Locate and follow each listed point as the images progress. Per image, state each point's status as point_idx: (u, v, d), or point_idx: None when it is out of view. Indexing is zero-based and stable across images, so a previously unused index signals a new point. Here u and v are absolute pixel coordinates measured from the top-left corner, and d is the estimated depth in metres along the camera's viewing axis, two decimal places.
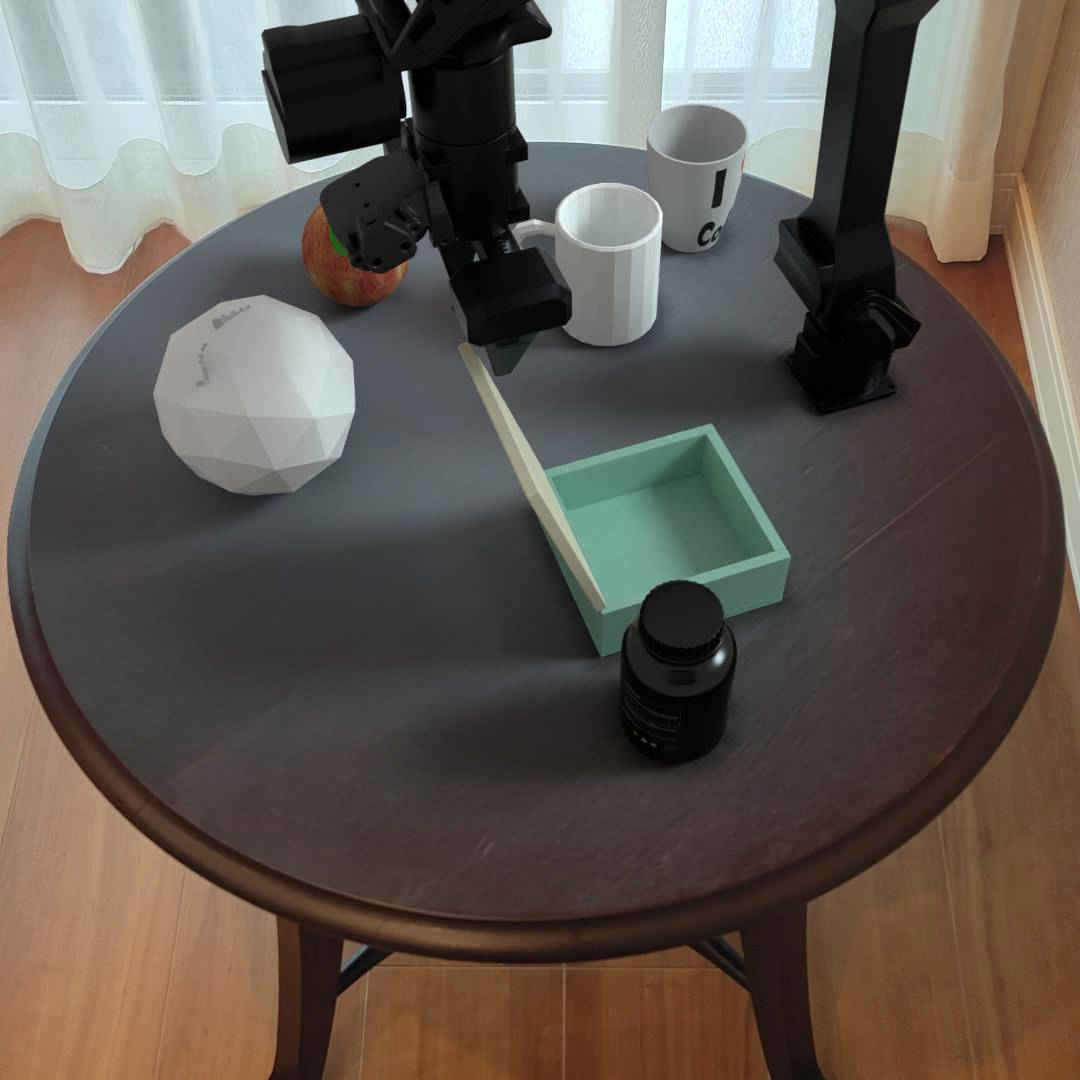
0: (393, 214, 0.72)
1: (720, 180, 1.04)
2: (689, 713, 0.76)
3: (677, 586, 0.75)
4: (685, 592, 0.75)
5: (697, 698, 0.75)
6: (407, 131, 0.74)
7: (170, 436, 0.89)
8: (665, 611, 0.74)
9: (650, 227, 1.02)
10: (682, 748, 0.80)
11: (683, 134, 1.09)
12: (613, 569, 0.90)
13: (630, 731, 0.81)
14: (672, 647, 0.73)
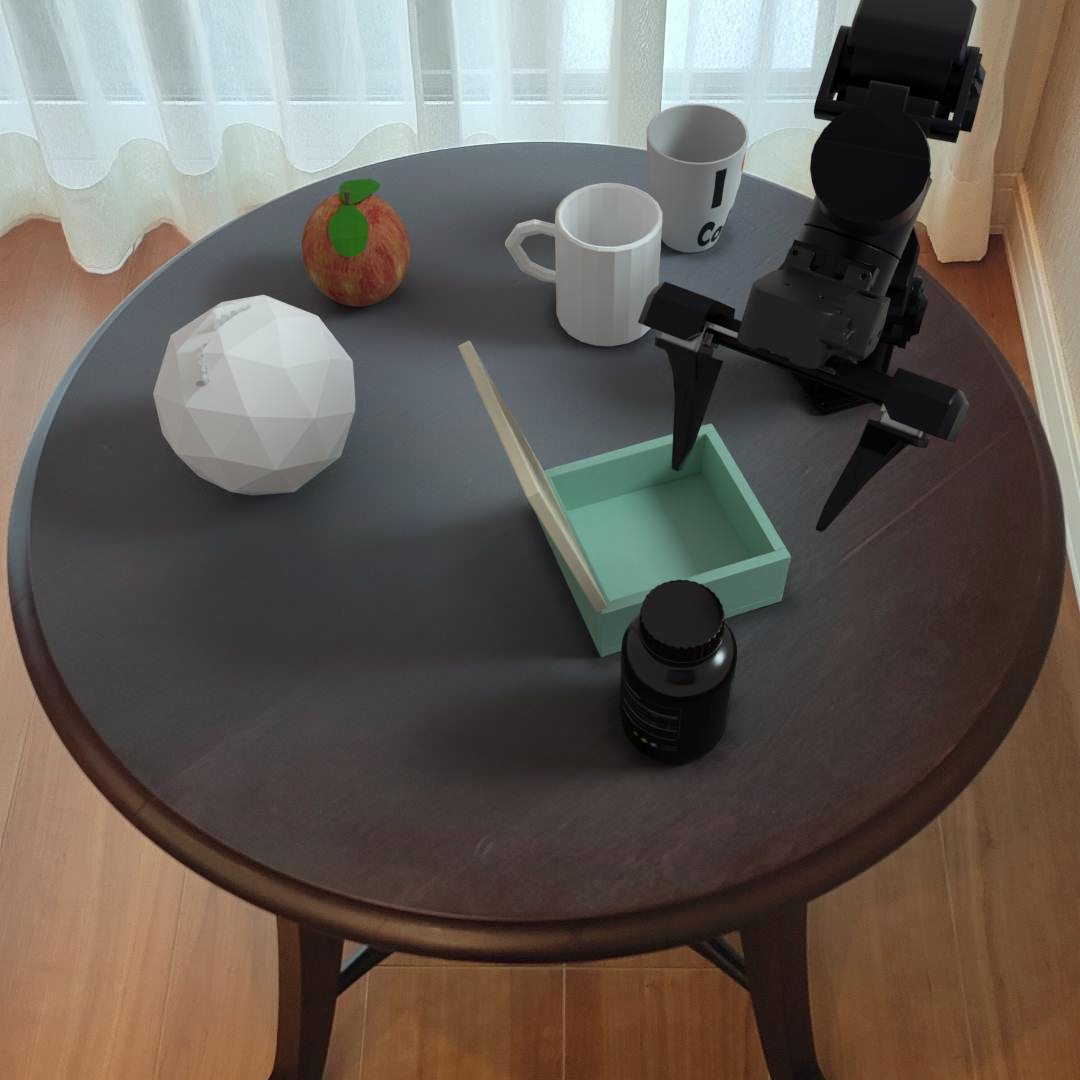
0: None
1: (720, 180, 1.04)
2: (689, 713, 0.76)
3: (677, 586, 0.75)
4: (685, 592, 0.75)
5: (697, 698, 0.75)
6: (805, 248, 0.72)
7: (170, 436, 0.89)
8: (665, 611, 0.74)
9: (650, 227, 1.02)
10: (682, 748, 0.80)
11: (683, 134, 1.09)
12: (613, 569, 0.90)
13: (630, 731, 0.81)
14: (673, 647, 0.73)
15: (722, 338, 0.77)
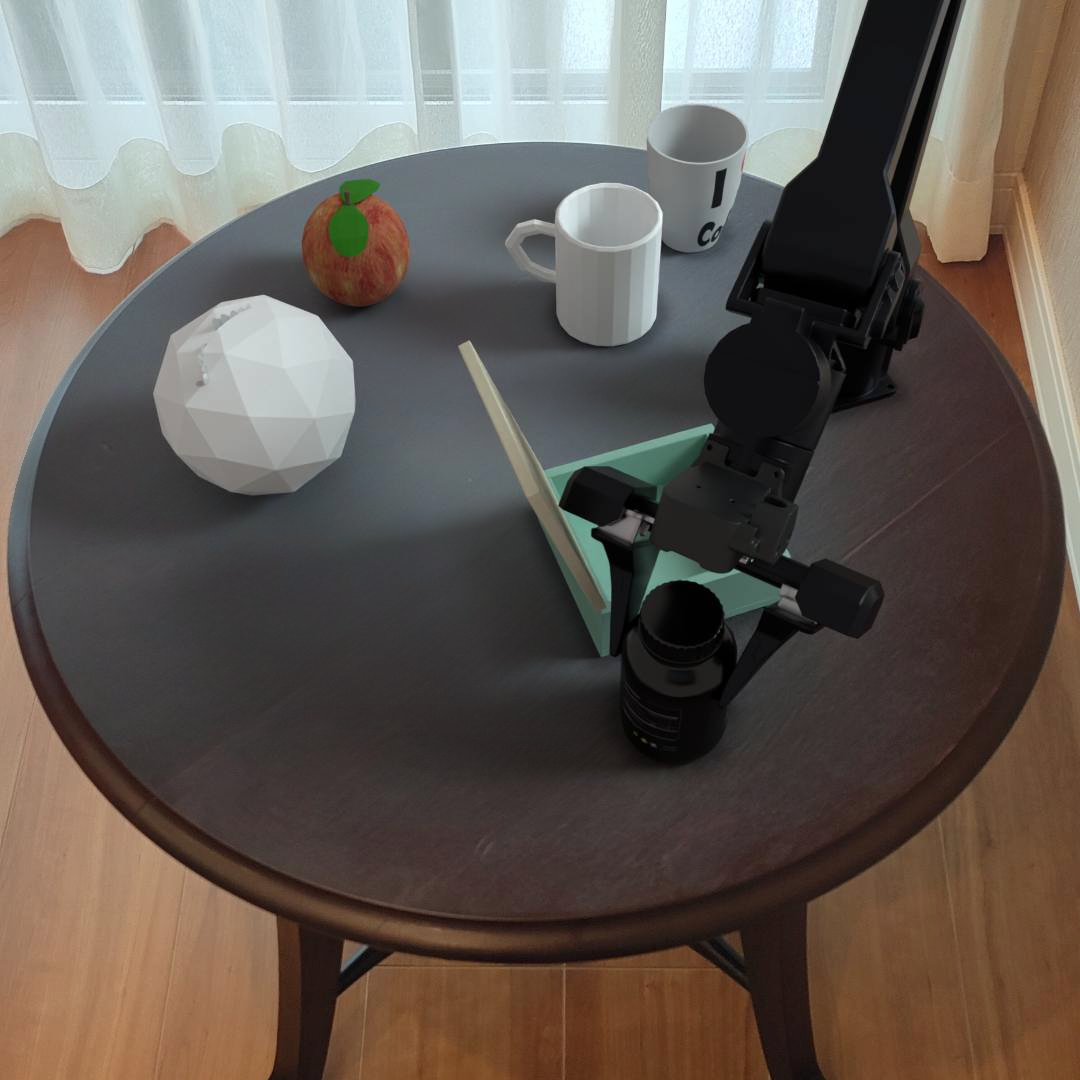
0: None
1: (720, 180, 1.04)
2: (689, 714, 0.76)
3: (677, 586, 0.75)
4: (685, 592, 0.75)
5: (697, 698, 0.75)
6: (720, 443, 0.73)
7: (170, 436, 0.89)
8: (665, 611, 0.74)
9: (650, 227, 1.02)
10: (682, 748, 0.80)
11: (683, 134, 1.09)
12: None
13: (630, 731, 0.81)
14: (673, 648, 0.73)
15: None
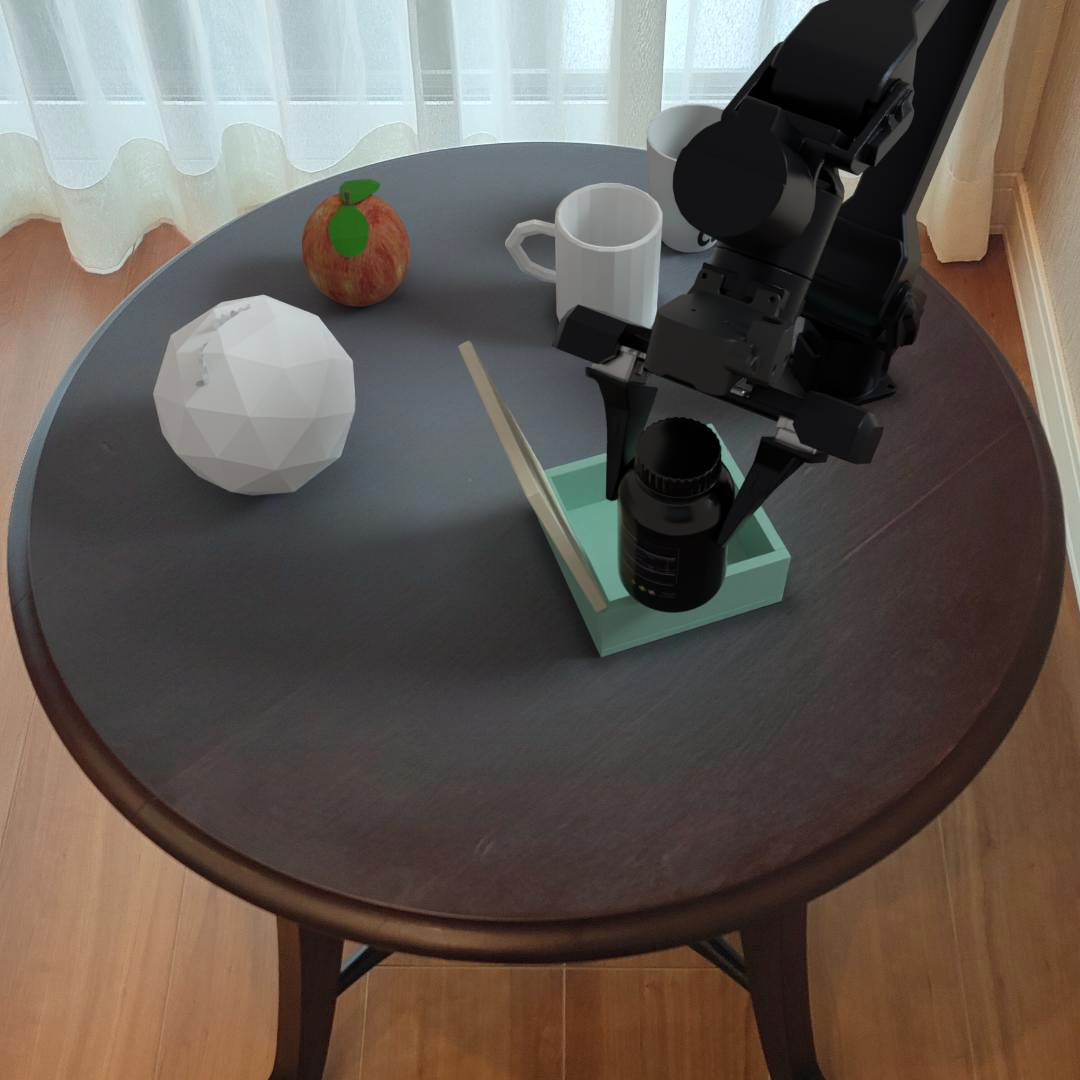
0: None
1: None
2: (687, 554, 0.75)
3: (673, 423, 0.74)
4: (682, 428, 0.74)
5: (695, 536, 0.74)
6: (715, 271, 0.71)
7: (170, 436, 0.89)
8: (661, 446, 0.73)
9: (650, 227, 1.02)
10: (680, 594, 0.79)
11: (683, 134, 1.09)
12: (613, 569, 0.90)
13: (628, 580, 0.80)
14: (669, 481, 0.72)
15: None
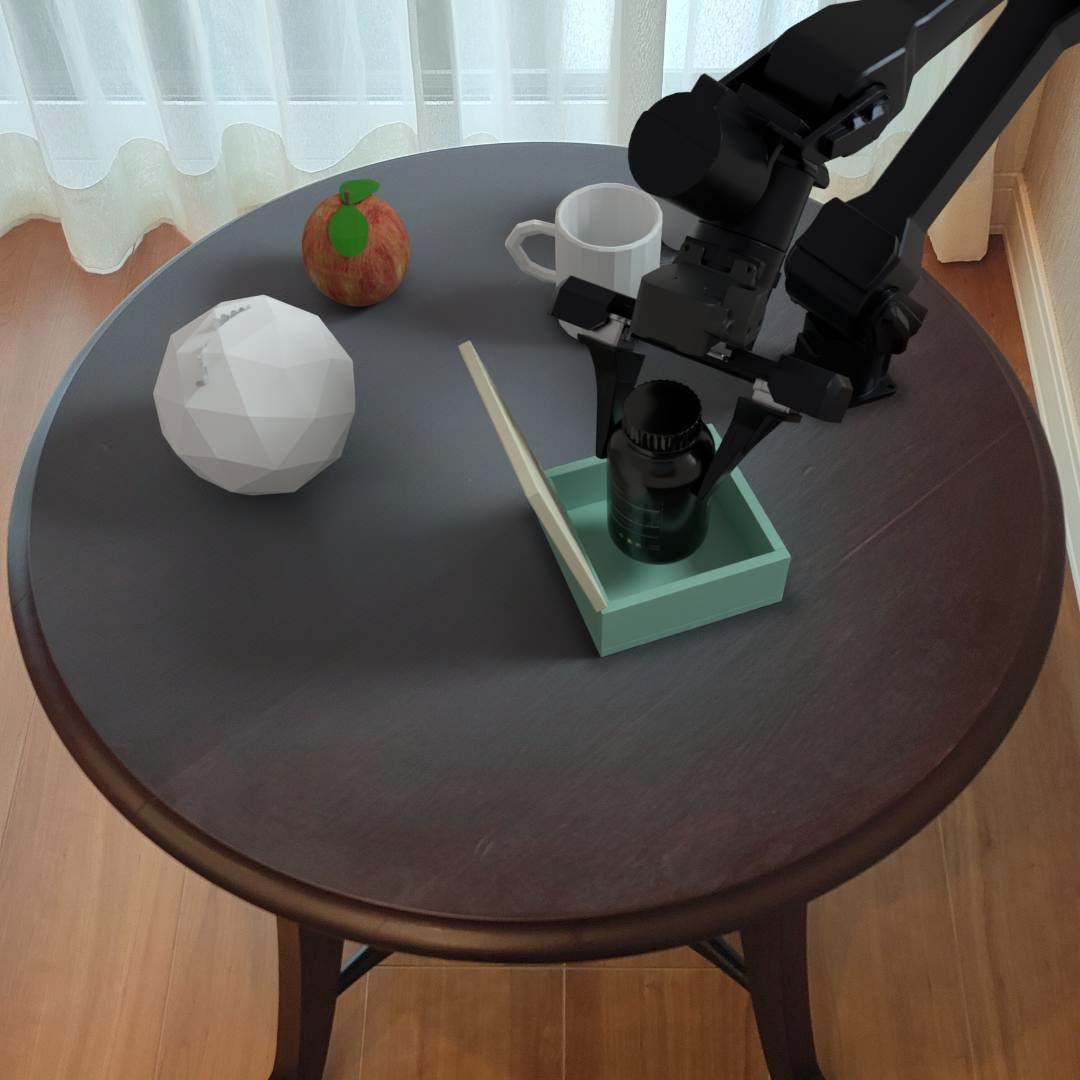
0: None
1: None
2: (671, 507, 0.81)
3: (658, 384, 0.80)
4: (665, 389, 0.80)
5: (677, 489, 0.80)
6: (696, 244, 0.77)
7: (170, 436, 0.89)
8: (646, 406, 0.79)
9: (650, 227, 1.02)
10: (665, 547, 0.84)
11: None
12: (613, 569, 0.90)
13: (616, 534, 0.86)
14: (653, 437, 0.78)
15: None
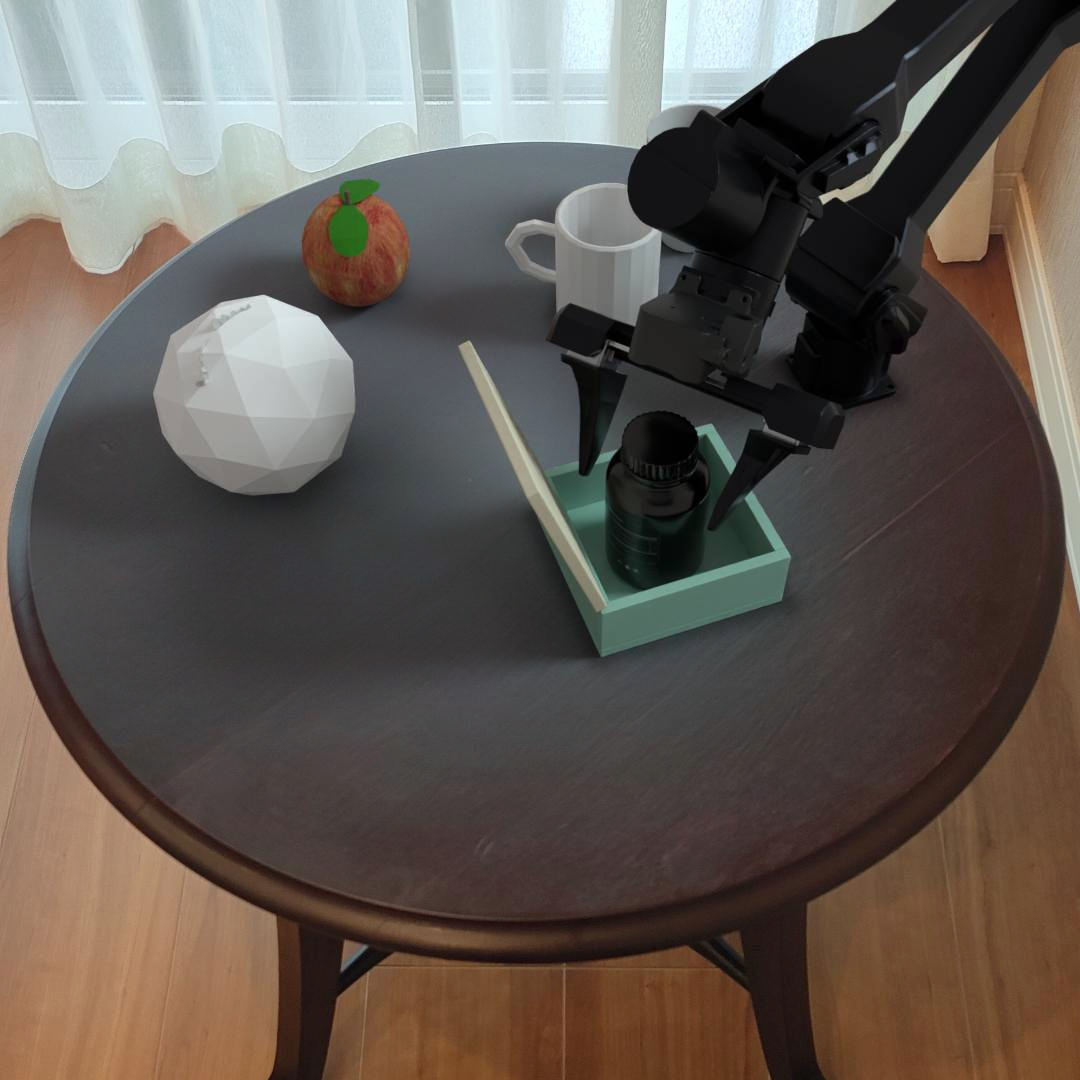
0: None
1: None
2: (668, 534, 0.83)
3: (656, 416, 0.82)
4: (663, 420, 0.82)
5: (674, 517, 0.82)
6: (693, 273, 0.79)
7: (170, 436, 0.89)
8: (645, 436, 0.81)
9: (650, 227, 1.02)
10: (662, 573, 0.87)
11: None
12: None
13: (614, 560, 0.88)
14: (651, 467, 0.80)
15: (623, 354, 0.84)
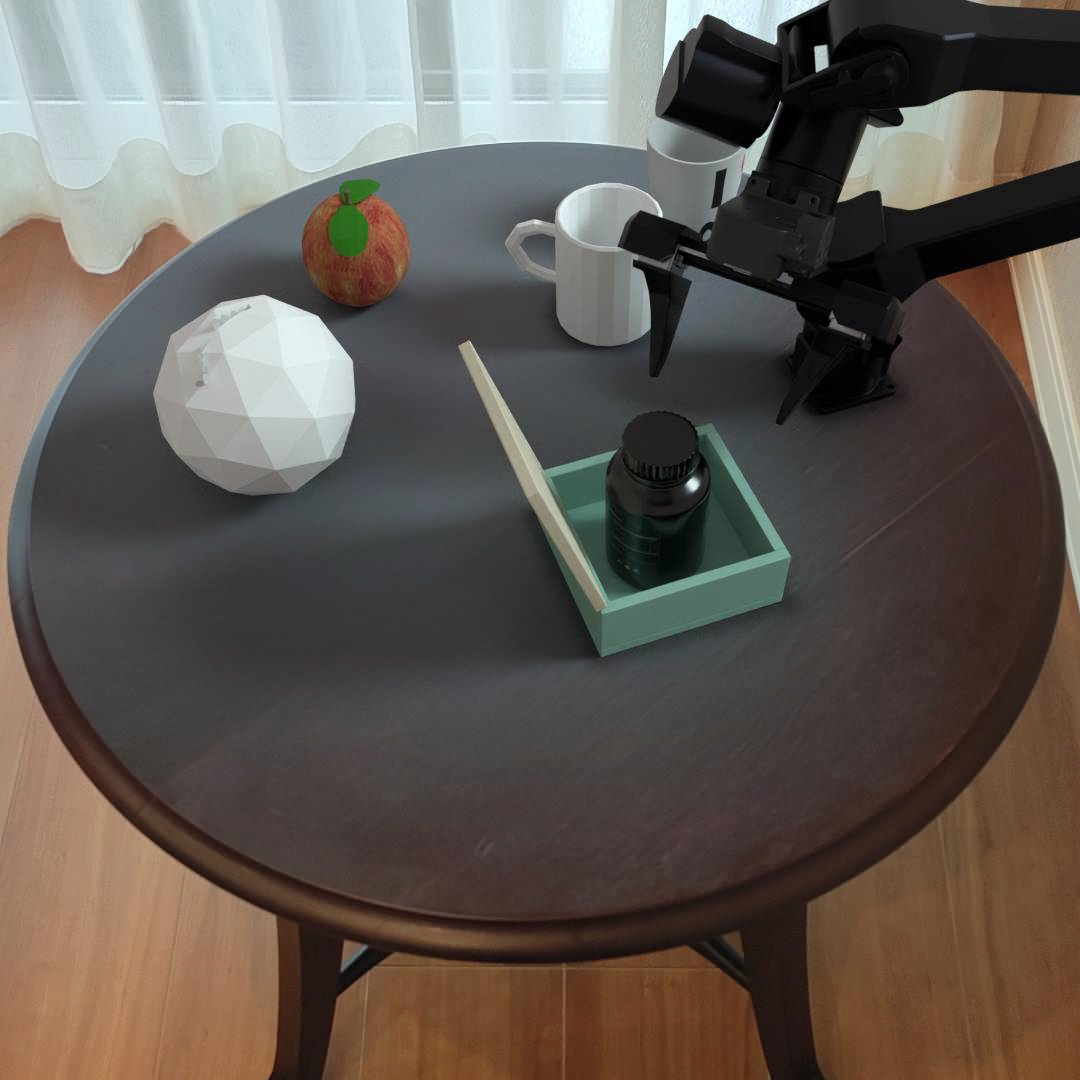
0: None
1: (720, 180, 1.04)
2: (668, 534, 0.83)
3: (656, 416, 0.82)
4: (663, 420, 0.82)
5: (674, 517, 0.82)
6: (762, 178, 0.83)
7: (170, 436, 0.89)
8: (645, 436, 0.81)
9: None
10: (662, 573, 0.87)
11: (683, 134, 1.09)
12: None
13: (614, 560, 0.88)
14: (651, 467, 0.80)
15: (691, 259, 0.88)
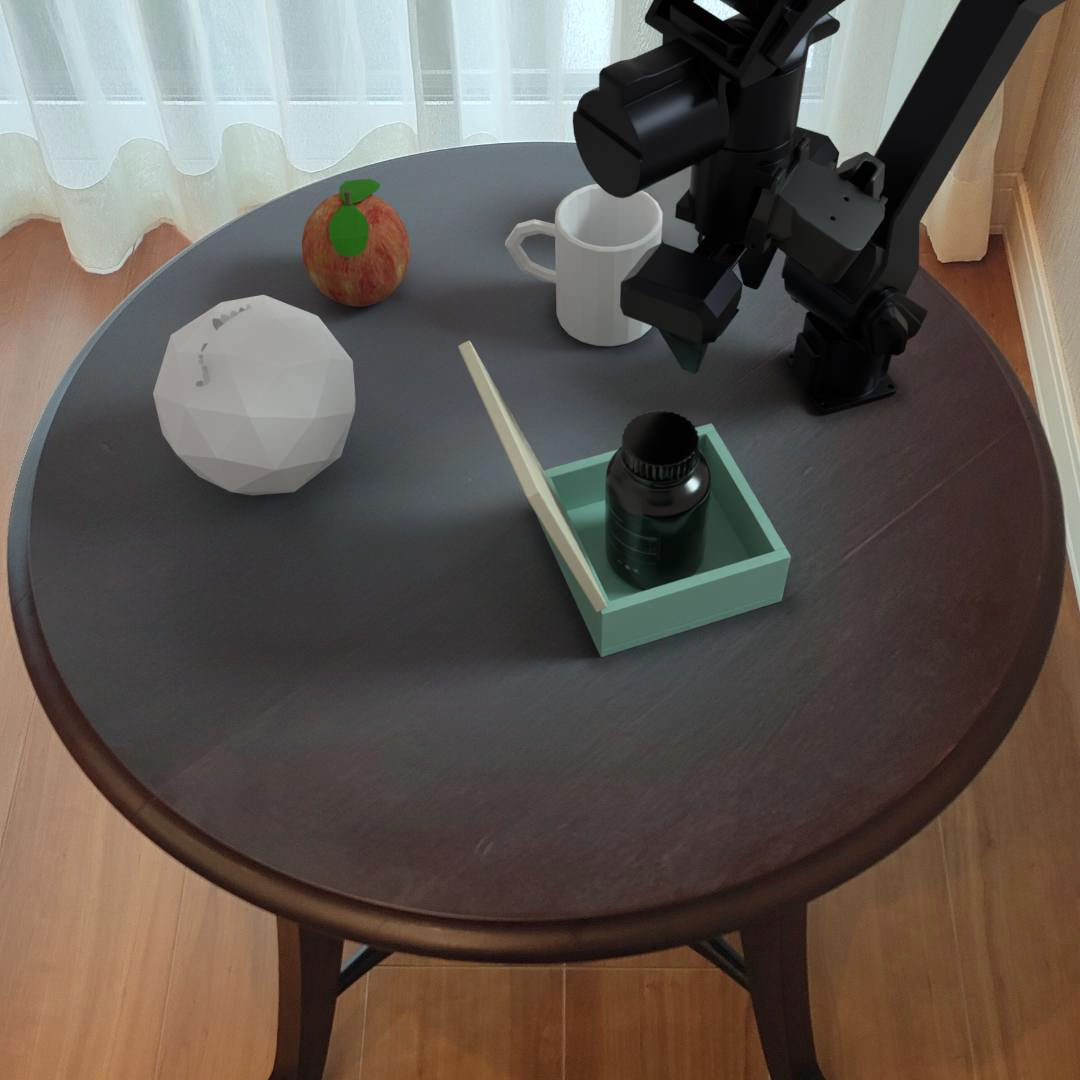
0: (842, 169, 0.77)
1: None
2: (668, 534, 0.83)
3: (656, 416, 0.82)
4: (663, 420, 0.82)
5: (675, 517, 0.82)
6: (779, 172, 0.74)
7: (170, 436, 0.89)
8: (645, 436, 0.81)
9: (650, 227, 1.02)
10: (662, 573, 0.87)
11: None
12: None
13: (614, 560, 0.88)
14: (652, 467, 0.80)
15: None
